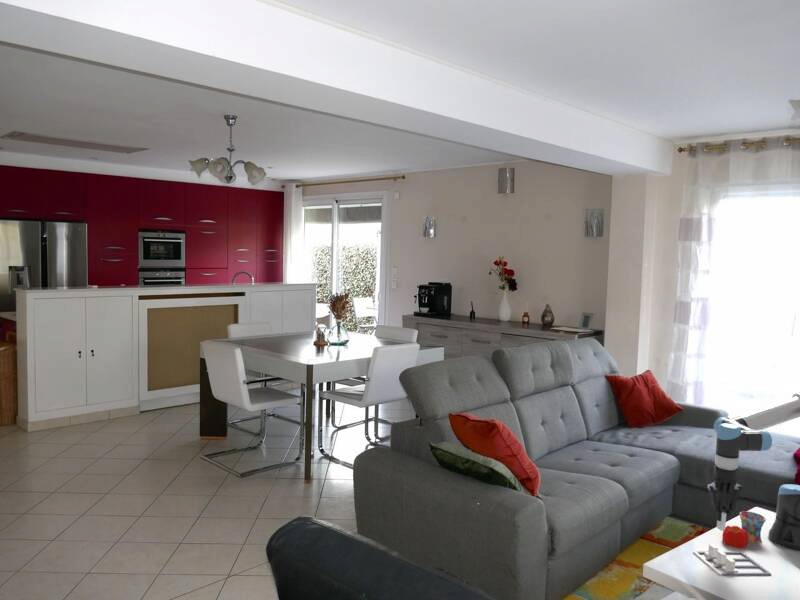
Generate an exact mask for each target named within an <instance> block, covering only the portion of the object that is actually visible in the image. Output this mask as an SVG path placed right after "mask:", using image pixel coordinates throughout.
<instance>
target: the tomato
mask: <svg viewBox="0 0 800 600" xmlns="http://www.w3.org/2000/svg"><path fill="white" fill-rule="evenodd" d="M741 528H742V527H739V526H737V525H732V526H731V525H726V526H725V531H722V537H721V538H722V541H723V543H724V544H725V545H727V546H728V547H732V548H737V549H744V548H746V547H747V546H748V545H749V543H750V542H749V537H748V534H747V532H746V531H745V530H744V529H741Z"/></svg>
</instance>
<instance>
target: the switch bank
mask: <svg viewBox="0 0 800 600" xmlns="http://www.w3.org/2000/svg"><path fill="white" fill-rule="evenodd" d="M705 552H708V551H700V550H699V551H698V550H697V551H696V550H695V551H693V552H692V553H693V555H695V556H696V557H697V558H698V559H700V560H701V562H703V563H704V564H706V565H707V567H709V568H710V569H711V570H712V571H714V572H715V573H716V575H718V576H720V577H721V576H723V577H725V576H726V577H727V576H730V577H732V576H733V577H734V576H737V577H738V576H740V577H741V576H743V577H744V576H745V577H746V576H747V577H748V576H752V577H753V576H757V577H758V576H759V577H760V576H767V577H768V576H770V577H771V576H772V573H771V572H770V571H768V570H767V569H766V568H764V567H763V566H762V565H761V564H759V563H758V562H757V561H755V560H754V559H753V558H751V557H750V556H749V555H747V554H746V553H744V552H743V551H723V552H724V553H725V554H727V555H741V556H742V557H744V558H742V557H739V558H732V557H731V558H732V559H733V560H734V561H735V562H750V563H751V565H750V564H749V565H748V564H747V565H746V564H745V565H743V564H742V565H739V564H737V565H736V564H735V569H759V570H761V571H762V572H738V573H726V572H721V571H720V570H719V569H721V566H725V565H716V564H715V565H714V564H711V563H710V562H713V559H717V558H708V557H706V558H705V557H703V556H702V555H705ZM752 564H753V565H752Z"/></svg>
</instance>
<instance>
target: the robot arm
mask: <svg viewBox="0 0 800 600" xmlns="http://www.w3.org/2000/svg"><path fill="white" fill-rule="evenodd" d="M798 418H800V391H799V392H797V393H794V394H793V395H792V397H790V398H787V399H785V400H782V401H779V402H776V403H773V404H770V405H767V406H764V407H761V408H759V409H756V410H752V411H749V412H747V413H743V414H742V415H739V416H736V417H732V418H730V417H725V416H723V417H722V416H721V417H719V418H717V419H716V420H715V421H714V423H713V429H714V432H715V433H716V444H715V458H714V464H715V465H714V470H713V477H714V478H713V480H712V482H711V483H710V484H709V483H707V484H706V486H705V487H706V488H707V490H708V495H709V501H710V507H711V509H712V510H713V511H715V520H716V528H717V529H718V530H720V531H721V532H723V531H725V528H726V523H727V522H728V519H729V518H728V517H729V515H730V514H731V512H733V511H735V508H736V505H737V501H738V498H739V496H740V493H741V491H743V486H742V485H740V484H739V483H738V481H737V478H738V468H739V458H740V452H763V451H769V450H770V449H771V448H772V445H773V437H772V435H771V433H770V432H769V431H767V430H765V429H767V428H771V427H775V426H777V425H780V424H782V423H783V424H784V423H786V422H788V421H792V420H794V419H798ZM778 488H779V489H778V493H777V502H776V513H775V519H774V522H773V523H772V526H771V528H770V529H769V531H768V536H767V537H768V539H769V540H770V541H771V542H772V543H774V544H776V545H778V546H779V547H783V548H786V549H789V550H793V551H799V552H800V485H799V484H792V483H791V484H789V483H788V484H787V483H786V484H781V485H780V487H778Z"/></svg>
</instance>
